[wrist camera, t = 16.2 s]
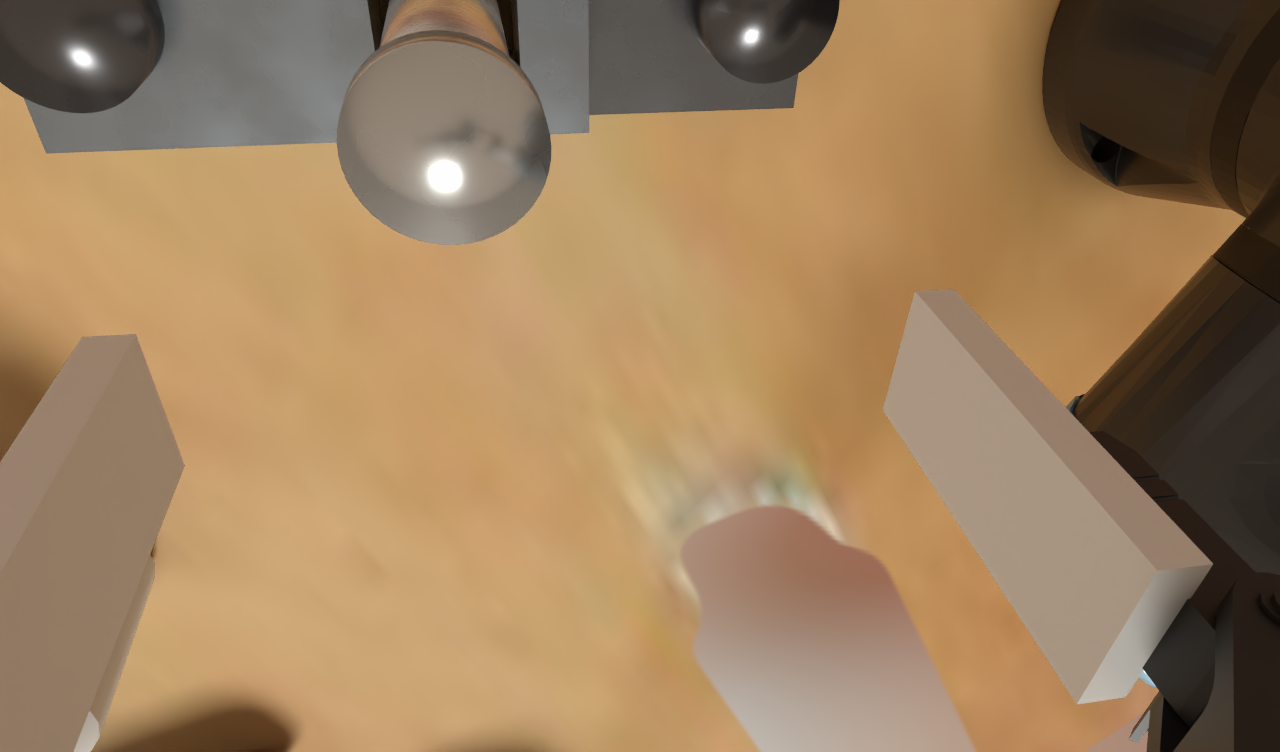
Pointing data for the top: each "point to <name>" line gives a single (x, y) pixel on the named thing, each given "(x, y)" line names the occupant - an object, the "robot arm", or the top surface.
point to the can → (115, 664)
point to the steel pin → (444, 125)
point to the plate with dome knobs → (347, 35)
